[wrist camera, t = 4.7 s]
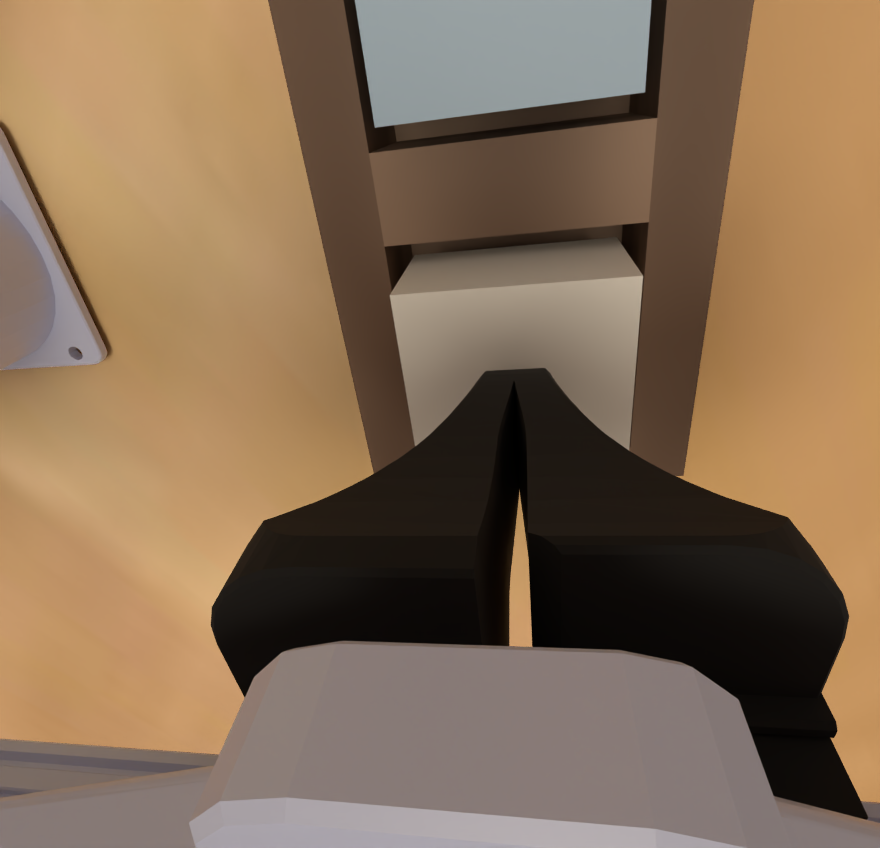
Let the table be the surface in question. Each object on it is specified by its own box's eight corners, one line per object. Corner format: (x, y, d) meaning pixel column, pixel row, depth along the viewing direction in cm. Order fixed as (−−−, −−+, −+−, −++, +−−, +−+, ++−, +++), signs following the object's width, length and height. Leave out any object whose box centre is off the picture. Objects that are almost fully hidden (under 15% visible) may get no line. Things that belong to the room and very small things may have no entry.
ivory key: (437, 420, 16) (421, 486, 14) (414, 255, 14) (389, 295, 11) (607, 414, 15) (626, 483, 13) (616, 237, 13) (643, 275, 10)
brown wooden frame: (399, 415, 20) (375, 481, 17) (286, -212, 12) (193, -334, 8) (652, 405, 18) (683, 475, 15) (727, -320, 10) (830, -522, 7)
